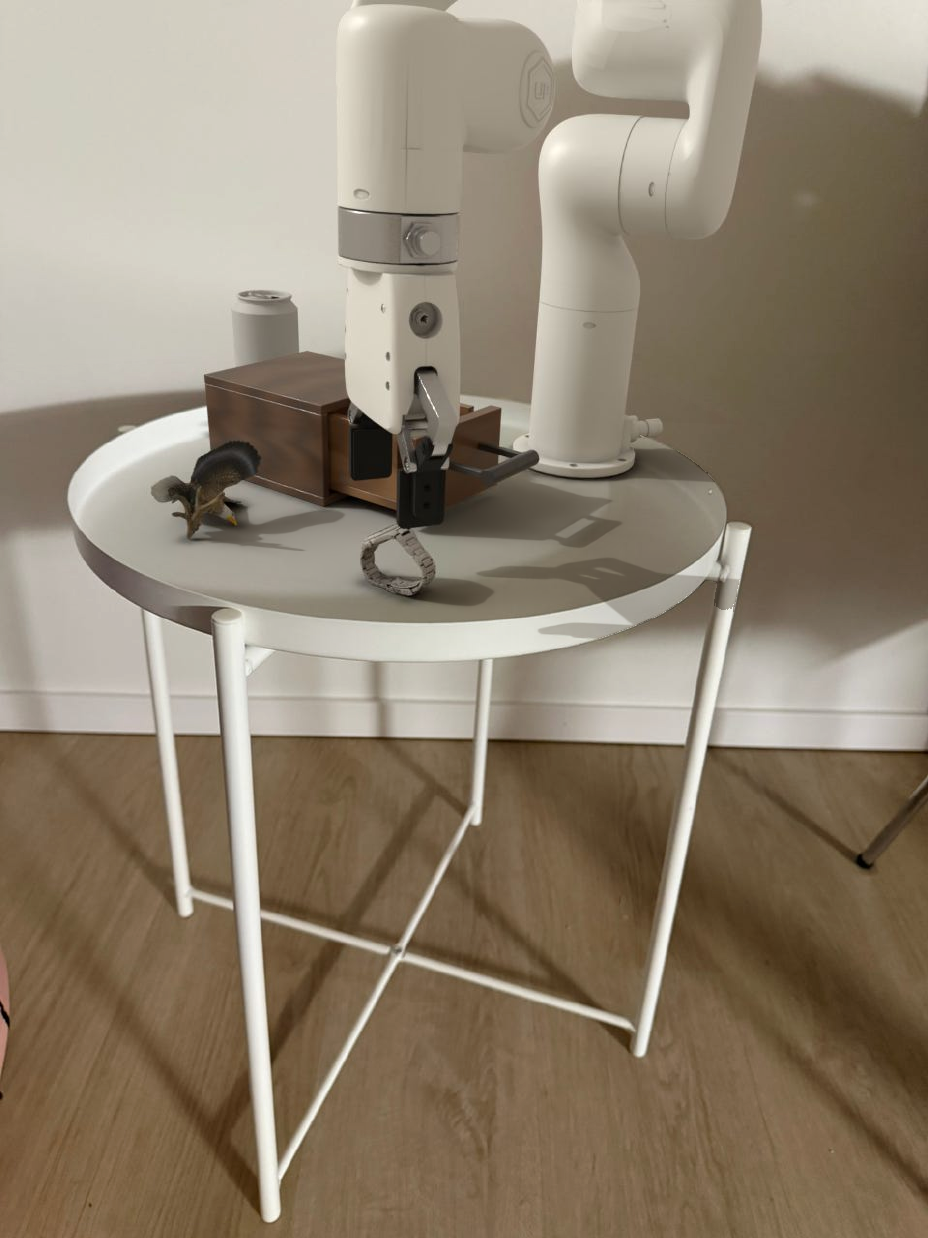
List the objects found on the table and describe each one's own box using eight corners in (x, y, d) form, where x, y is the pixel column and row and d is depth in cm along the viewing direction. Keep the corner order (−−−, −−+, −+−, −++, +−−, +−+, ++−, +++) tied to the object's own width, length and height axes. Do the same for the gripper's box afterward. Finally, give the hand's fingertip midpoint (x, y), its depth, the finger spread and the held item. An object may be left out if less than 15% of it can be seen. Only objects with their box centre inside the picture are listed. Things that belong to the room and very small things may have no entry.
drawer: (551, 500, 86) (558, 421, 83) (472, 542, 77) (476, 455, 74) (385, 452, 96) (385, 379, 92) (297, 485, 87) (294, 405, 83)
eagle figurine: (256, 532, 76) (283, 475, 83) (197, 463, 73) (230, 409, 80) (186, 568, 79) (217, 510, 86) (126, 503, 76) (163, 448, 83)
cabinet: (418, 468, 95) (420, 376, 90) (323, 506, 85) (321, 405, 80) (310, 437, 102) (307, 350, 98) (211, 468, 92) (203, 374, 88)
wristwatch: (378, 569, 74) (378, 509, 72) (443, 592, 71) (445, 530, 69) (348, 585, 71) (347, 522, 69) (414, 609, 68) (416, 545, 66)
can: (305, 404, 113) (301, 298, 107) (240, 406, 111) (233, 299, 105) (296, 387, 119) (292, 286, 113) (234, 389, 117) (227, 287, 111)
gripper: (515, 260, 54) (495, 539, 62) (404, 226, 68) (399, 458, 76) (391, 261, 51) (386, 554, 59) (301, 225, 65) (307, 466, 73)
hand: (393, 500), depth 67 cm, fingers open, 9 cm apart
